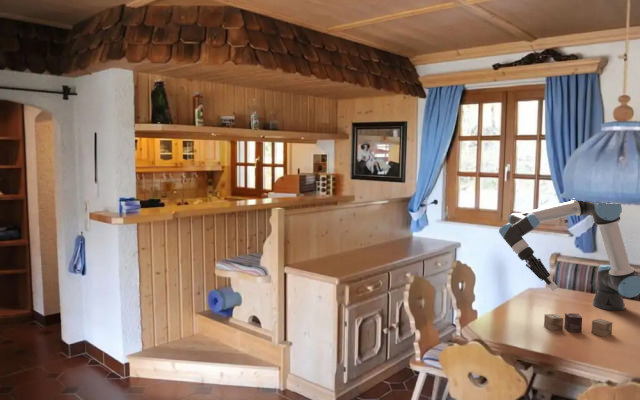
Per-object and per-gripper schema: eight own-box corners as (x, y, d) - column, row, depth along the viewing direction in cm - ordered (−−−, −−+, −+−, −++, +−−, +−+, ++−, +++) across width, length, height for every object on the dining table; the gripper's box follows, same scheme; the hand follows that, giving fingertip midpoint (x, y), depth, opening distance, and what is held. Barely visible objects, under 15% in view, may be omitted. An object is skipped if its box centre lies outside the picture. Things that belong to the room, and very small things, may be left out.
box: (581, 332, 232) (582, 317, 232) (568, 331, 233) (569, 316, 233) (577, 328, 238) (578, 313, 237) (564, 327, 239) (564, 312, 238)
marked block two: (555, 325, 241) (556, 313, 241) (562, 330, 235) (563, 317, 235) (544, 326, 241) (544, 313, 240) (550, 330, 235) (551, 318, 234)
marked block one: (599, 330, 235) (599, 318, 235) (611, 334, 230) (612, 322, 229) (591, 332, 232) (592, 320, 232) (603, 337, 227) (604, 324, 226)
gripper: (523, 252, 257) (554, 290, 247) (512, 256, 248) (544, 296, 238) (534, 244, 253) (566, 282, 243) (522, 247, 244) (556, 287, 234)
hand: (555, 289), depth 240 cm, fingers closed
